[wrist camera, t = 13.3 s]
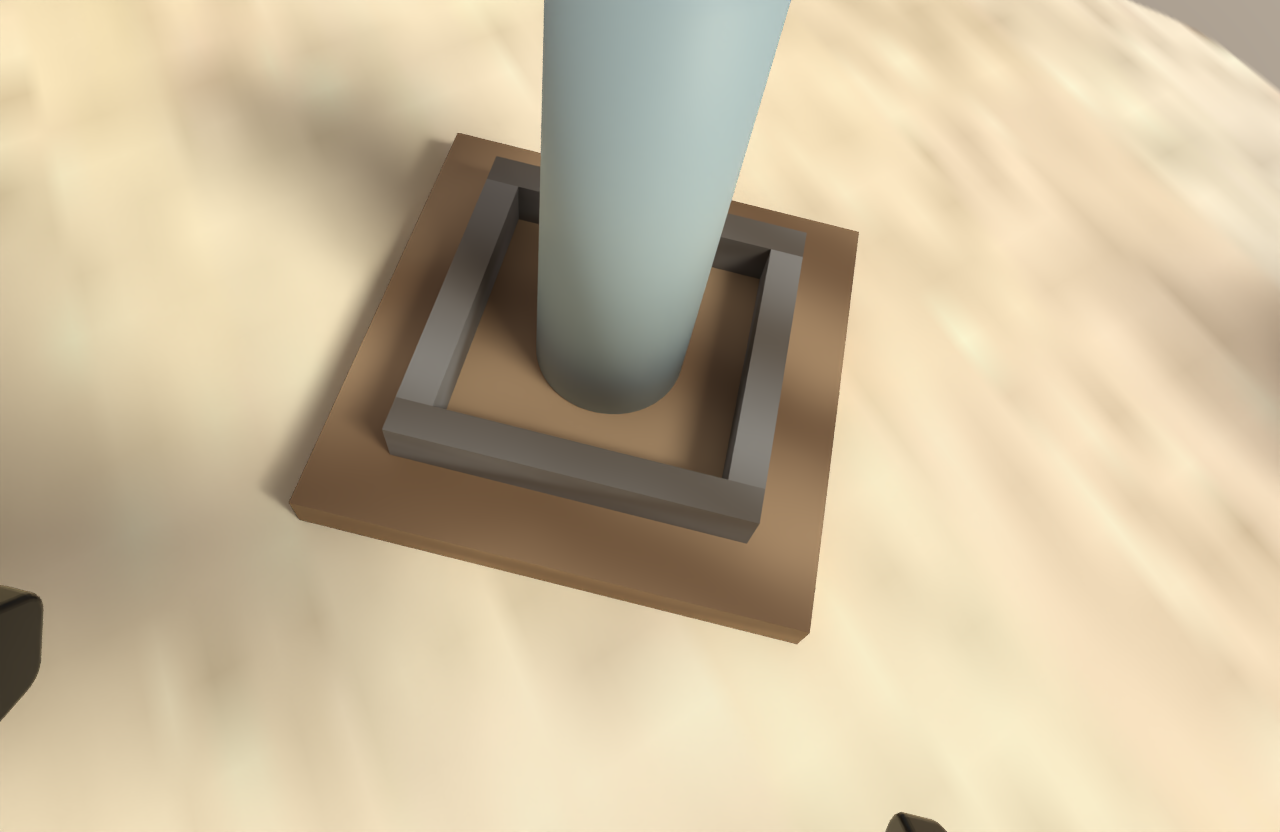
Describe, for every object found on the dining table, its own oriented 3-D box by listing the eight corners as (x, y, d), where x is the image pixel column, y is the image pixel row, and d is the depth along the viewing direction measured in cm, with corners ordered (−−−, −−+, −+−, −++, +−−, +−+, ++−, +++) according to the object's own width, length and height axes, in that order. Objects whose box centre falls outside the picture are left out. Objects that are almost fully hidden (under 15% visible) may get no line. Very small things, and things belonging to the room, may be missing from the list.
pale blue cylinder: (554, 426, 25) (580, 23, 13) (522, 302, 26) (522, -143, 15) (700, 399, 26) (841, 3, 14) (659, 281, 27) (755, -150, 16)
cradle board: (797, 643, 24) (827, 617, 21) (299, 519, 24) (274, 479, 21) (847, 254, 30) (874, 201, 28) (460, 158, 30) (454, 97, 28)
